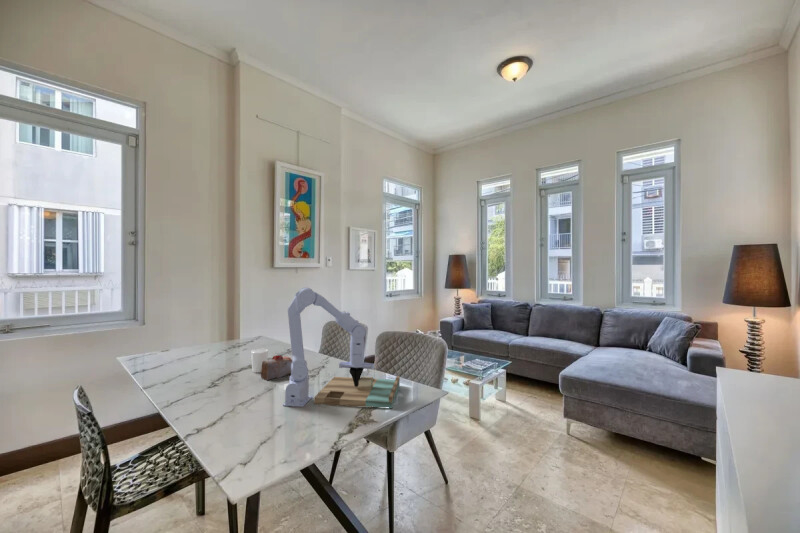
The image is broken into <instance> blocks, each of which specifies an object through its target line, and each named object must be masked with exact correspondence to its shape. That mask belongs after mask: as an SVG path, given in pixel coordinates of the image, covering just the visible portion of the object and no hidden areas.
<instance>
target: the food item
mask: <svg viewBox="0 0 800 533" xmlns="http://www.w3.org/2000/svg"><path fill="white" fill-rule="evenodd" d="M291 363H292V358H291V357H290V356H288V355H287V356H286V355H285V356H282V355H273V357H272V358H270V359H268V360H265V361H263V362H262V370H261V372H260V374H261V375H260V378H261V379H263V380H265V381H269V380H273V379H276V378H278V379H279V378H282V377H284V376H288V375H291Z"/></svg>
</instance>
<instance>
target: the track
mask: <svg viewBox="0 0 800 533" xmlns="http://www.w3.org/2000/svg"><path fill="white" fill-rule="evenodd" d="M400 383H401V382H400V375H396V377H395V379H386V378H385V379H384V378H373V388H372V390H371V391H360V390H359V385H358V387H356V386H354V381H353V378H352V377H351V376H350V377H349V376H348V377H347V376H346V377H345V376H334V377H333V378H331V379H330V380H329V381H328V383H326V384H325V386H324V387H322V389H321V390H320V391H319V392H318V393H317V394H316V395H315V396H314V397H313V400H314V401H313V403H314V405H321V404H326V405H325V406H337V405H345V406H344V407H352V406H371V407H372V406H373V407H389V408H392V409H393V407H392V406H394V404H395V401H396V398H397V395H398V391H399V389H400V385H401V384H400ZM395 397H396V398H395ZM394 400H395V401H394ZM393 403H394V404H393ZM346 405H348V406H346Z"/></svg>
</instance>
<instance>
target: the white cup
mask: <svg viewBox="0 0 800 533" xmlns="http://www.w3.org/2000/svg"><path fill="white" fill-rule="evenodd" d="M250 356H251V357H250V358H251V372H252V373H255V374H256V373H257V374H259V373H260V374H261V370H262V362H263V361H265V360H269V359H268V358H269V349H267V348H257V349H252V350H251V351H250Z"/></svg>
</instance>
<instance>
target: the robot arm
mask: <svg viewBox="0 0 800 533" xmlns="http://www.w3.org/2000/svg"><path fill="white" fill-rule="evenodd" d="M311 305H313V306H316V307H321V308H323V309H324V310H325V311H326V312H327V313H329V314H330V315H331V316H333V318H334V319H335V323H336V324H337V325H338V326H339V327H341V328H342V329H343V330H345V331H346V332H347V333H349V335H350V341H349V342H350V343H349V361H340V362H339V363H338V368H339V369H343V368H346V369H349V374H350V375H351V376H350V377H351V378H353V381H354V386H356V387H358V385H359V380H360V378H361V377H362V374H363V371H364V369H365V370H366V369H367V370H375V363H370V362H365V361H364V360H365V358H364V357H365V342H364V340H365V336H366V333H367V332H366V328H365V327H364V325H362V324H360V322H359V320H358V319H354V318H353V317H352V316H351V312H349V311H347V312H346V311H340V310H339V309H338V308H336V307H335V305H333V304H332V302H331V303H330V301H329V300H328V299H326V298H325V297H324V296H323V295H322V294H319V293H318V292H316V291H314V290H313V289H312V288H310V287H302V288H301V289H300V290H299V291H297V292H296V293H295V295H294V297H293V298H292V301H291V302H290V304H289V306H287V307H288V308H287V318H288V326H289V327H288V328H289V336H290V337H289V338H290V347H291V348H290V349H291V356H292V358H291V359H292V363H291V373H290V376H289V382H288V385H287V386H286V388H285V402H284V403H283V404H282V406H285V407H300V408H303V407H304V406H305V405H307V403H308V402H309V401H310V400H311V399H312V398H313V395H310V394H309V392H310V388H309V386H310V385H309V384H310V383H309V382H310V380H309V379H310V376H309V367H308V362H307V360H306V359H305V350H304V343H303V342H304V341H303V340H304V339H303V331H302V321H301V320H302V319H301V318H302V317H301V313H302V312H304V310H305V309H306V308H307V307H309V306H311Z"/></svg>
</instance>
